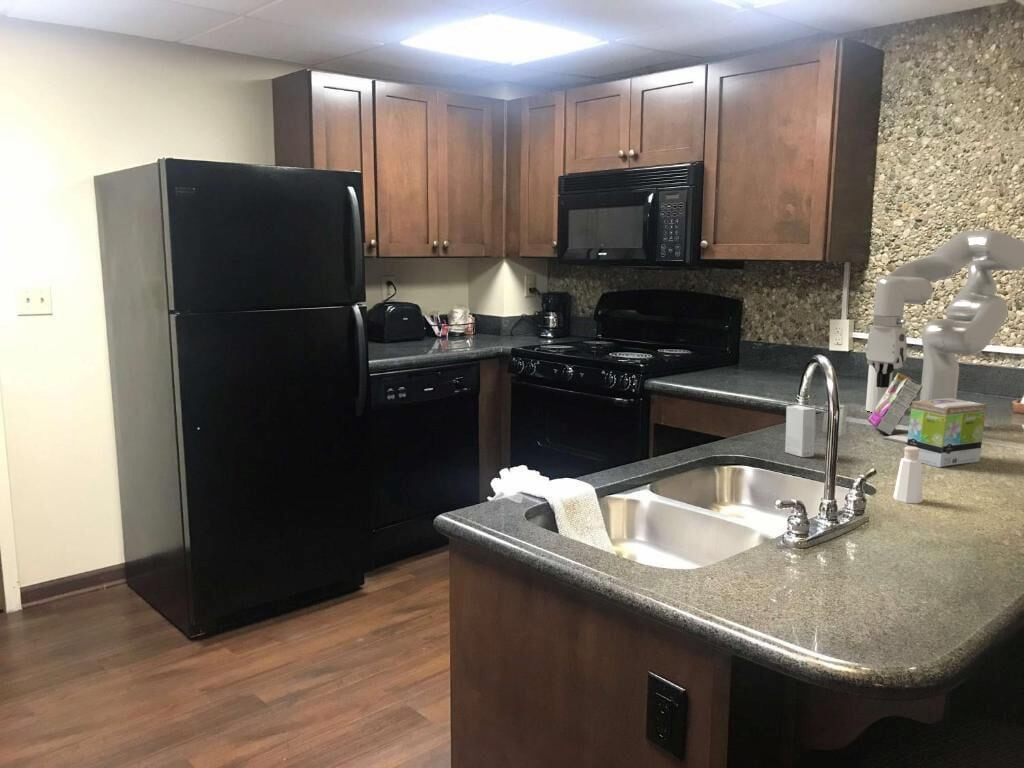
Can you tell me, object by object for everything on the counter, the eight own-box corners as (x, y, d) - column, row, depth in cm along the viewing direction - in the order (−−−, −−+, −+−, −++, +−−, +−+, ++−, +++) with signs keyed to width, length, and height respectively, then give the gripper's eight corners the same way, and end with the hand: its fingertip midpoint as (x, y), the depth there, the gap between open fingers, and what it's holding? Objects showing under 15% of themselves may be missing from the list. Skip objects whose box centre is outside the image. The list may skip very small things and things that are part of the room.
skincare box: (814, 456, 204) (818, 408, 202) (801, 458, 202) (804, 409, 200) (796, 450, 209) (799, 404, 208) (783, 452, 208) (786, 405, 206)
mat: (911, 434, 231) (912, 432, 231) (966, 445, 218) (966, 443, 218) (881, 438, 225) (882, 436, 225) (936, 450, 211) (936, 448, 211)
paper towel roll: (865, 412, 263) (870, 346, 259) (865, 409, 268) (870, 344, 265) (890, 414, 260) (895, 347, 257) (889, 411, 266) (894, 346, 262)
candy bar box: (865, 419, 239) (897, 371, 236) (881, 428, 239) (913, 380, 235) (874, 427, 229) (908, 377, 225) (891, 436, 228) (924, 386, 224)
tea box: (941, 468, 193) (947, 407, 191) (904, 459, 202) (909, 400, 200) (981, 462, 200) (987, 402, 198) (943, 453, 209) (949, 396, 207)
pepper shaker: (920, 505, 164) (925, 451, 162) (891, 500, 167) (895, 448, 165) (923, 498, 169) (928, 446, 167) (894, 494, 171) (899, 443, 170)
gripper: (920, 323, 224) (914, 390, 227) (873, 319, 237) (868, 382, 240) (902, 324, 220) (897, 392, 223) (856, 320, 233) (851, 384, 236)
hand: (882, 386), depth 231 cm, fingers closed
